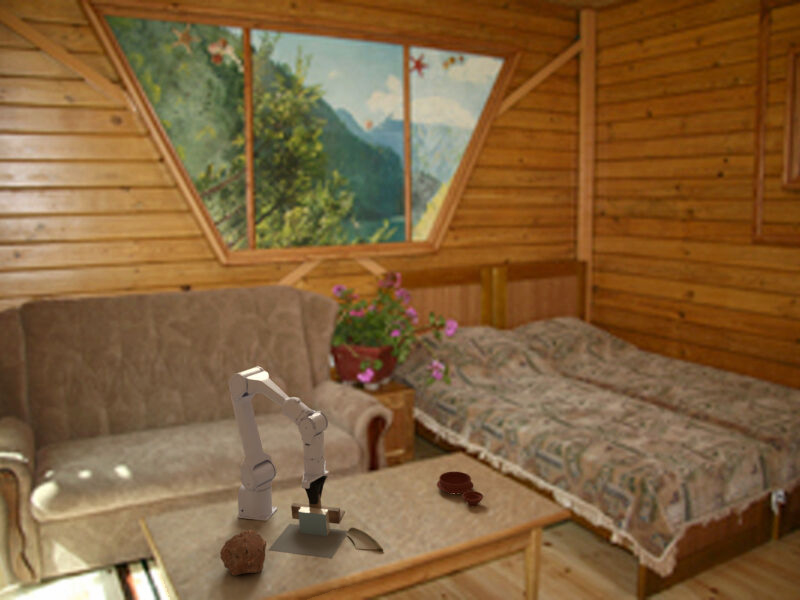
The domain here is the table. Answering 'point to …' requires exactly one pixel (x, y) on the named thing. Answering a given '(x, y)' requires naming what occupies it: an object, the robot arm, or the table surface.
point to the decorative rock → (244, 553)
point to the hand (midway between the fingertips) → (315, 501)
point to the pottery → (459, 486)
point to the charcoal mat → (308, 542)
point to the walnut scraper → (334, 513)
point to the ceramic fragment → (363, 540)
